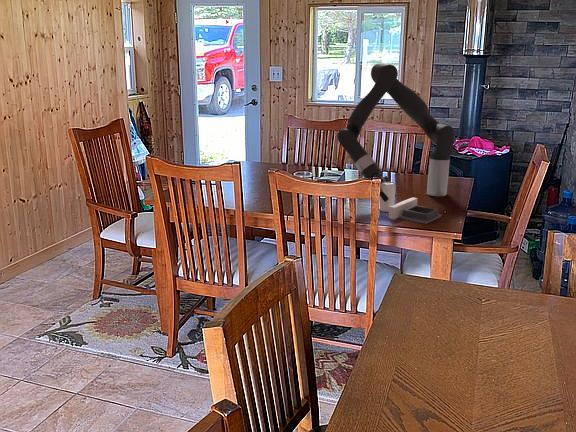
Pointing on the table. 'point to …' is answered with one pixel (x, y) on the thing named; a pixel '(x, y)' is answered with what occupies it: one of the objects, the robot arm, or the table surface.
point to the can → (390, 193)
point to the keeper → (420, 214)
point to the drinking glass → (321, 198)
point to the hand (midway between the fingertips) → (390, 199)
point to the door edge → (401, 207)
